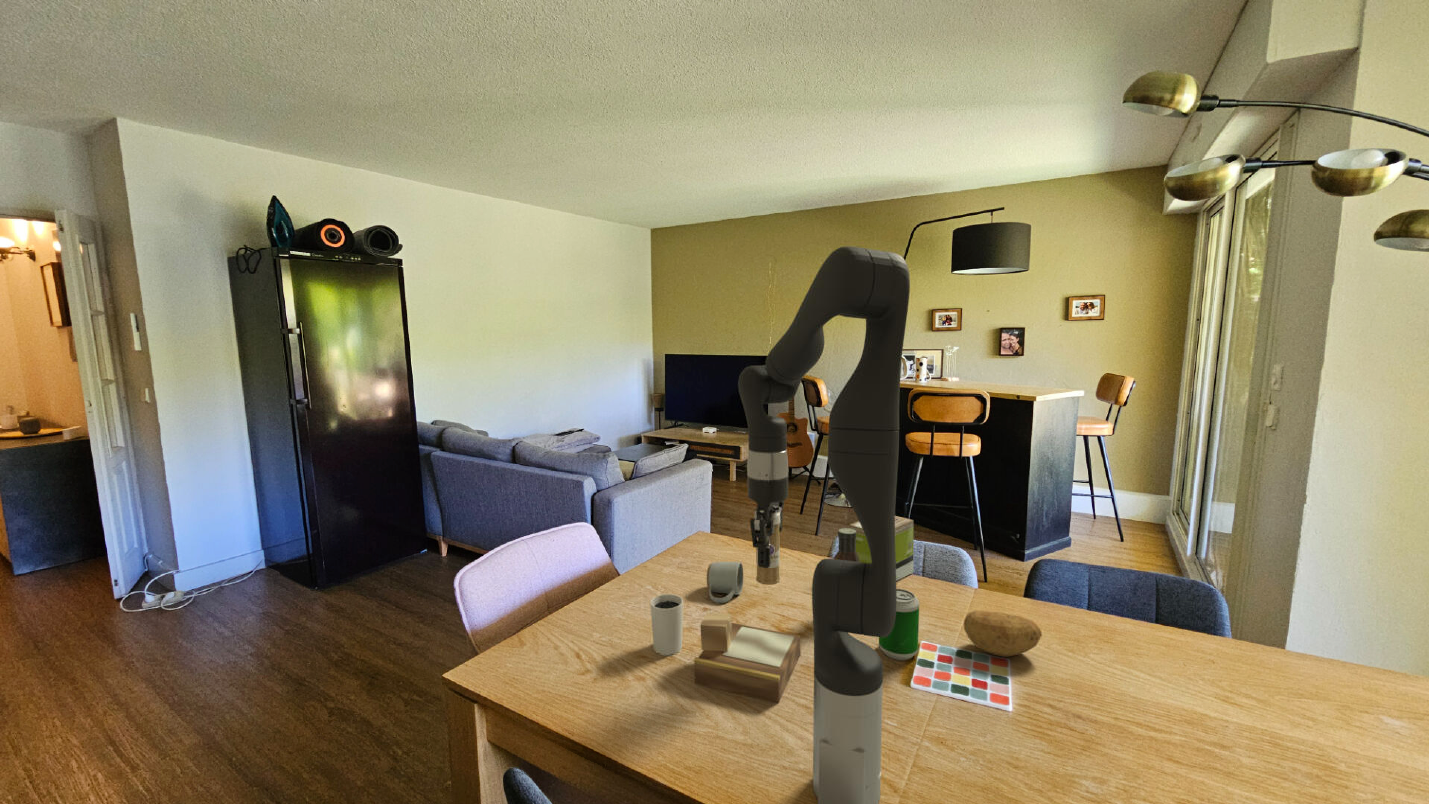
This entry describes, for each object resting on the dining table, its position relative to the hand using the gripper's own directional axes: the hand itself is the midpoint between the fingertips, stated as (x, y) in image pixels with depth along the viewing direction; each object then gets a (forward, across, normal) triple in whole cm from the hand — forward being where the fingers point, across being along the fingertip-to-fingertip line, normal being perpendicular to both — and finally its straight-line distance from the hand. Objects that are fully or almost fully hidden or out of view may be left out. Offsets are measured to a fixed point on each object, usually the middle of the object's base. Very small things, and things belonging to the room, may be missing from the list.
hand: (768, 561), depth 108 cm
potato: (+21, +21, -42) cm, 52 cm away
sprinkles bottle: (+4, 0, 0) cm, 4 cm away
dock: (+21, -2, +3) cm, 21 cm away
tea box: (+21, +50, -16) cm, 57 cm away
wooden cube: (+14, -5, +9) cm, 18 cm away
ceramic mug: (+21, +26, +19) cm, 38 cm away
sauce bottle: (+21, +25, -11) cm, 35 cm away
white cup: (+21, -1, +21) cm, 30 cm away
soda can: (+21, +14, -23) cm, 34 cm away
